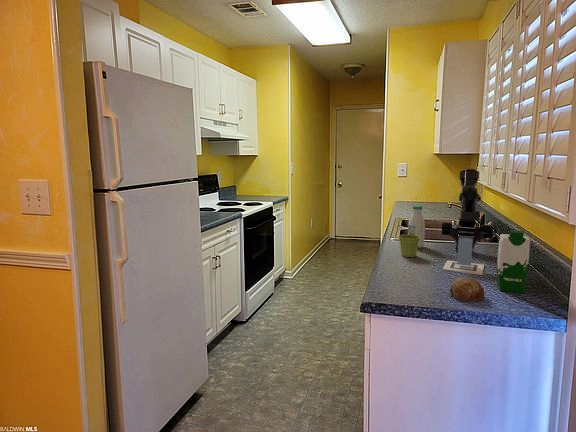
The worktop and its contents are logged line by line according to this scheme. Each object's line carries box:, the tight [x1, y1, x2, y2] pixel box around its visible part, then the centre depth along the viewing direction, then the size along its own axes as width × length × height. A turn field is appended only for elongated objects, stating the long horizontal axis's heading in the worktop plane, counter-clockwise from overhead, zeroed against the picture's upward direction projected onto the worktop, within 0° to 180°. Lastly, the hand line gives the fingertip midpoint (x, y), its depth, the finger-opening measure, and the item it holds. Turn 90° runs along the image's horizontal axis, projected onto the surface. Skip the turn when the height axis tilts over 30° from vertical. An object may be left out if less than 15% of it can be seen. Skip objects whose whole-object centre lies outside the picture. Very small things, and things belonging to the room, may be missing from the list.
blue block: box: [456, 237, 473, 266], centre depth 162 cm, size 5×5×10 cm
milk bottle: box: [407, 204, 426, 249], centre depth 199 cm, size 8×8×20 cm
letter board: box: [442, 260, 485, 276], centre depth 163 cm, size 14×14×1 cm
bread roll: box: [449, 276, 486, 303], centre depth 131 cm, size 10×10×8 cm
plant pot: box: [397, 234, 421, 258], centre depth 182 cm, size 9×9×9 cm
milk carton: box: [496, 230, 531, 294], centre depth 137 cm, size 9×9×20 cm
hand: (465, 247), depth 161 cm, fingers closed on blue block, 5 cm apart
